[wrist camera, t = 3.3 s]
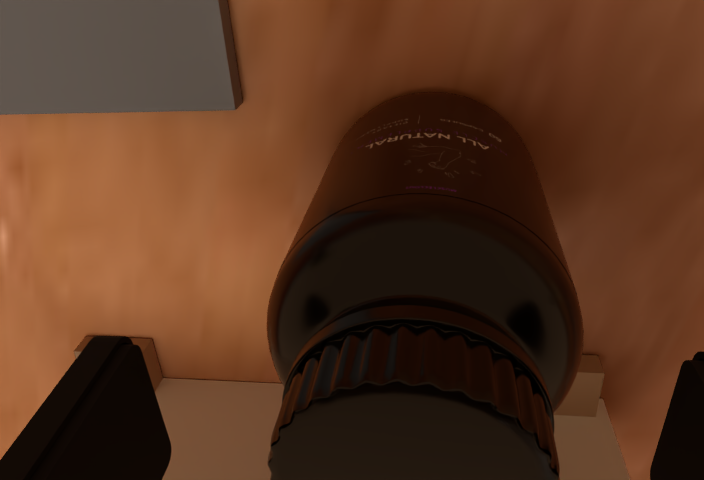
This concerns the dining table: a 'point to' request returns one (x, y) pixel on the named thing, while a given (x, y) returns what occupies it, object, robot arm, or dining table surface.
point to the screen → (266, 400)
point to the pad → (116, 56)
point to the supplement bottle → (424, 306)
